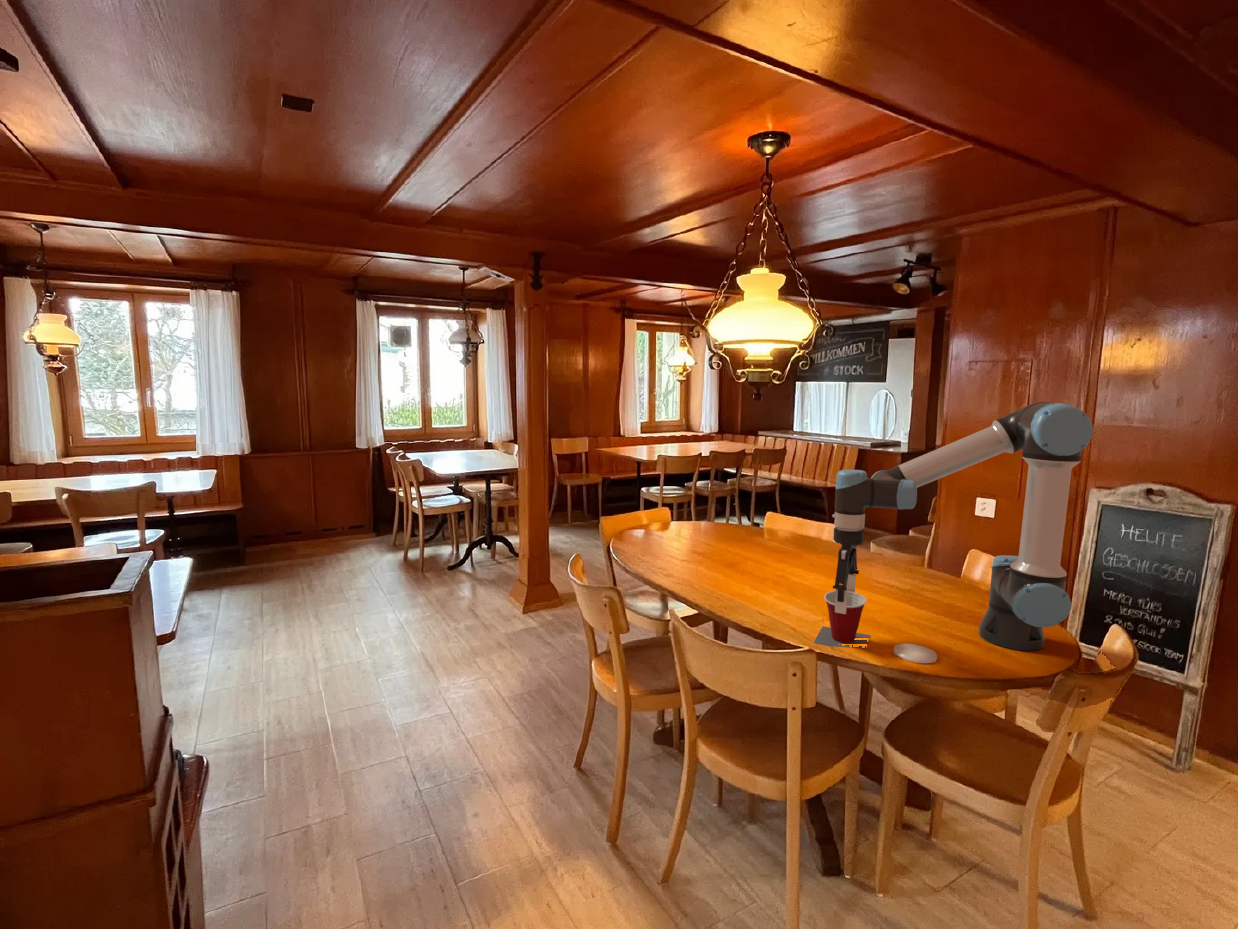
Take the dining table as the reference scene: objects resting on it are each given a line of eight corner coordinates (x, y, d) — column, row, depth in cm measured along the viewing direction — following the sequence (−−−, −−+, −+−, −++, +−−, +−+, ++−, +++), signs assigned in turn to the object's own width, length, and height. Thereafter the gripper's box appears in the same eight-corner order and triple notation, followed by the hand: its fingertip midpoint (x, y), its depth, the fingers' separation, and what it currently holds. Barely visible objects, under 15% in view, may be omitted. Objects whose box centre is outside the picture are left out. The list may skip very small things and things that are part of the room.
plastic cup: (814, 638, 169) (816, 596, 167) (833, 627, 176) (835, 587, 174) (853, 651, 161) (855, 607, 159) (870, 639, 169) (873, 597, 167)
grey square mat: (870, 638, 171) (871, 635, 171) (864, 656, 160) (864, 653, 160) (822, 628, 177) (822, 626, 177) (812, 646, 166) (813, 643, 166)
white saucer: (937, 653, 161) (937, 649, 161) (935, 669, 152) (936, 664, 152) (895, 645, 166) (896, 641, 166) (891, 659, 157) (892, 655, 157)
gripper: (842, 517, 177) (839, 588, 180) (824, 536, 155) (821, 617, 158) (870, 520, 173) (866, 593, 176) (856, 540, 152) (852, 623, 155)
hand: (845, 604), depth 167 cm, fingers open, 13 cm apart
